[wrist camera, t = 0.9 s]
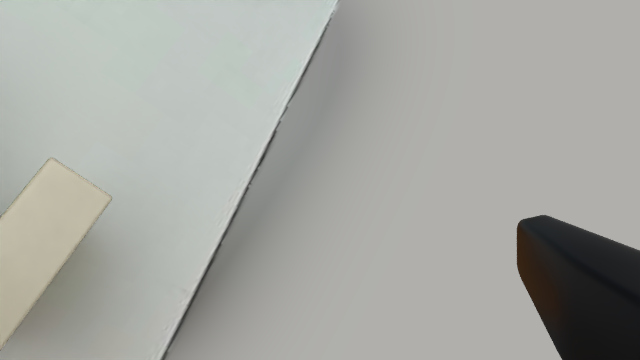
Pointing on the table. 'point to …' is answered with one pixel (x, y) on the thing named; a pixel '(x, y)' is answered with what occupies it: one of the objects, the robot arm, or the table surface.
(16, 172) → the table surface
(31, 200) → the cream book
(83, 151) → the table surface
